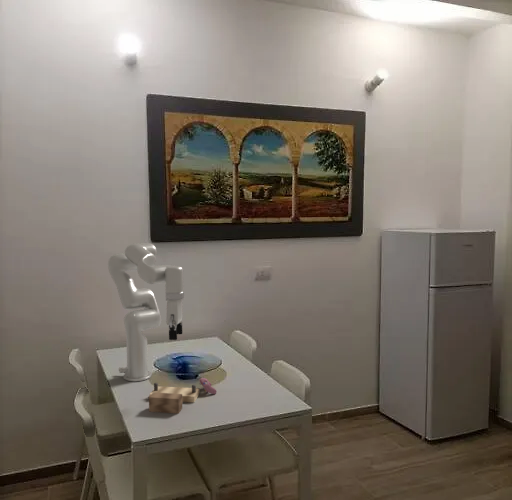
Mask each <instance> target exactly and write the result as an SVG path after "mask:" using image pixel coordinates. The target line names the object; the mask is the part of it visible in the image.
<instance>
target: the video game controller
mask: <svg viewBox="0 0 512 500" xmlns="http://www.w3.org/2000/svg"><path fill="white" fill-rule="evenodd" d="M198 384H199V385H200V386H202V387H203V389H204V392H205V393H206V394H207V393H209V394H211V395H216V394H217V389H216V388H214V387H213V386H212V383H211V382H210V381H209V379H207V378H205V377H201V378H199V382H198Z"/></svg>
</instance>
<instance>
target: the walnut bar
mask: <svg viewBox="0 0 512 500" xmlns="http://www.w3.org/2000/svg"><path fill="white" fill-rule="evenodd" d="M182 410H183V402H182V394H171V393H156V392H153V393H152V394H151V395H150V394H149V397H148V411H149V412H150V413H151V412H152V413H163V414H164V413H165V414H180V412H181V411H182Z"/></svg>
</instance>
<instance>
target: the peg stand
mask: <svg viewBox="0 0 512 500" xmlns="http://www.w3.org/2000/svg"><path fill="white" fill-rule="evenodd" d="M153 392H156V393H171V394H182V403H195V402H196V401H197V399H198V397H199V395H200V388H199V387H197V385H196V384H191V387H179V386H178V387H176V386H159V383H158V382H154V383H153V389H152V391H150V393H149V396H150V395H151V394H152V393H153Z"/></svg>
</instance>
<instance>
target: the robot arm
mask: <svg viewBox="0 0 512 500" xmlns="http://www.w3.org/2000/svg"><path fill="white" fill-rule="evenodd" d="M157 253H158V251H157V248H156V246H155V245H154V244H153V243H151V242H143V243H141V242H140V243H131V244H129V245H128V246H126V247H125V250H124V252H122V253H116V254H113V255H111V256H110V257H109V258H108V262H107V268H108V273H109V275H110V277H111V279H112V280H113V282H114V284H115V287H116V289H117V293H118V297H119V300H120V304H121V305H122V308H123V309H124V310H126V311H130V312H127V313H126V314H125V315H124V318H123V325H124V330H125V337H126V339H125V340H126V341H125V342H126V343H125V344H126V367H122V366H120V367H119V368H118V372H119V373H122V374H123V373H124V374H123V379H124V380H125V381H127V382H128V381H129V382H143V381H145V380H148V379H150V378H151V377H152V373H151V372H150V371H149V369H148V367H149V366H148V360H149V359H148V338H147V337H146V335H145V334H144V332H143V331H147V330H151V329H156V328H158V327H160V326H161V324H162V316H161V312H160V307H159V305H158V303H157V300H156V296H155V293H154V292H153V290H152V289H150V288H148V287H147V288H146V287H142V288H138V287H137V286H136V284H135V281H134V278H132V276H131V275H130V274H128V273H127V271H137V274H138V276H139V278H140V279H141V280H142V281H143V282H145V283H146V284H149V285H156V284H157V285H158V284H164V287H165V288H164V289H165V290H164V291H165V301H166V316H165V317H166V319H165V322H166V324H167V325H168V340H169V341H177V340H178V335H183V318H184V317H183V316H184V315H183V314H184V313H183V309H184V308H183V301H184V300H185V292H184V291H185V288H184V287H185V285H184V269H183V267H182V266H178V265H173V264H164V265H162V264H161V265H160V264H159V265H156V262H157V260H156V257H157V255H158V254H157ZM131 310H133V311H131Z"/></svg>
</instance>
